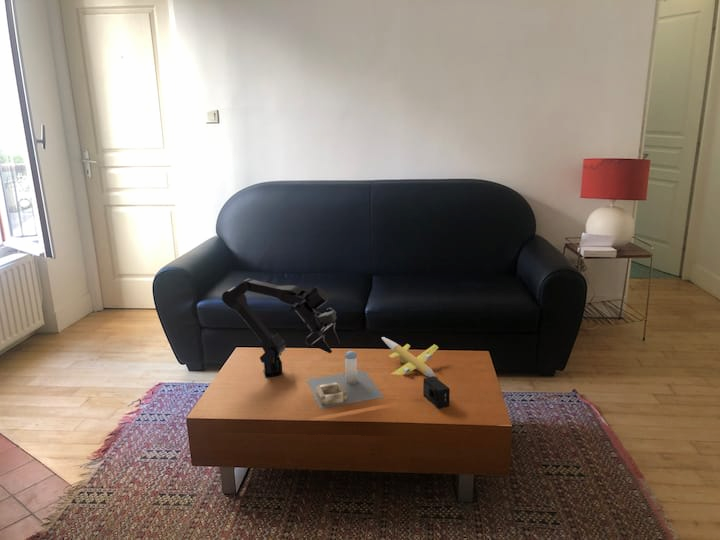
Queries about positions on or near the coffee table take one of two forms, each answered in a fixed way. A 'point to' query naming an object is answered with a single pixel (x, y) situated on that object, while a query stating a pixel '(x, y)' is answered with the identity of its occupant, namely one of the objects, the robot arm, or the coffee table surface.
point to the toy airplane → (411, 358)
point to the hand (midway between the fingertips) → (335, 347)
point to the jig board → (348, 388)
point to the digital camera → (436, 392)
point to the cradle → (331, 397)
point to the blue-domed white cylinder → (351, 367)
